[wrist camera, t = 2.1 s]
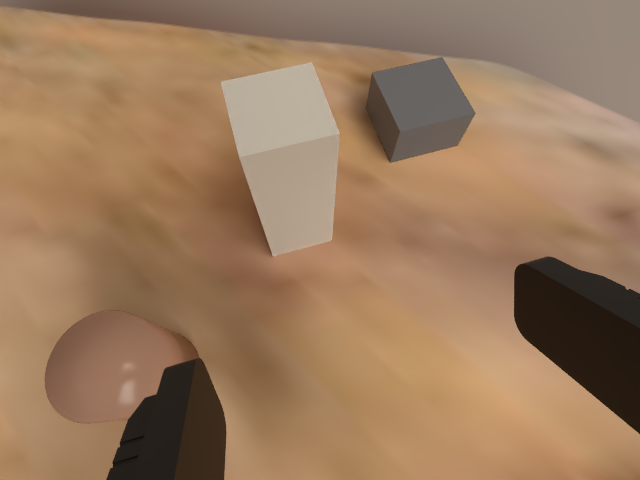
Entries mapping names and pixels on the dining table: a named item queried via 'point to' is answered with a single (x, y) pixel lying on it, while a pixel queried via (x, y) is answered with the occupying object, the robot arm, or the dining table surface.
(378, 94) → the grey squat block
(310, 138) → the tall cream block
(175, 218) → the dining table surface
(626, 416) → the robot arm
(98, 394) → the pink rounded pebble
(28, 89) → the dining table surface
